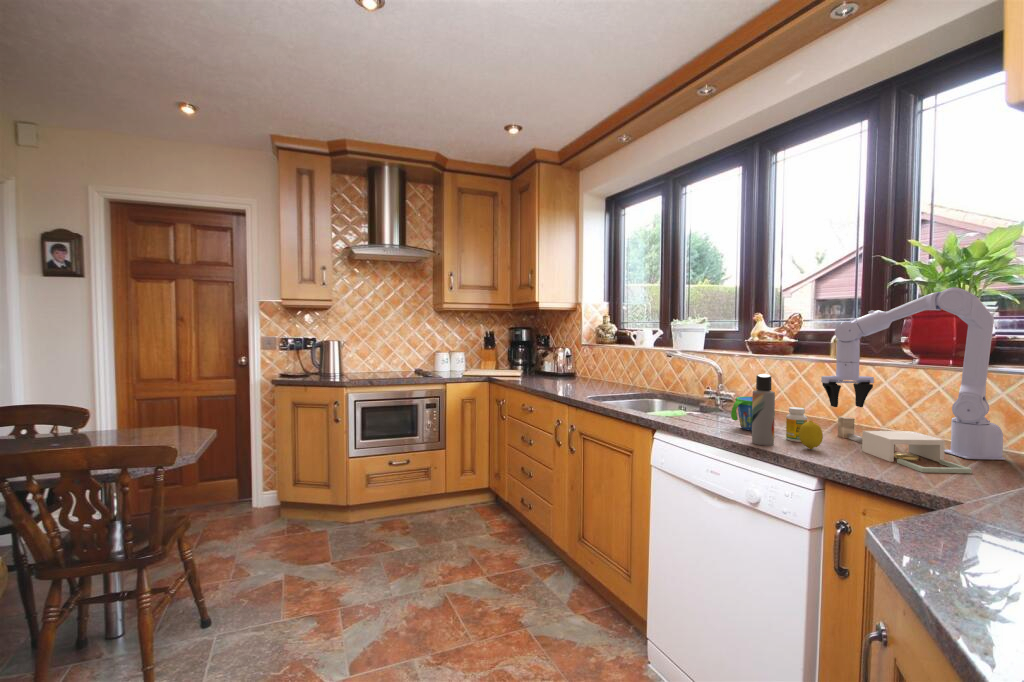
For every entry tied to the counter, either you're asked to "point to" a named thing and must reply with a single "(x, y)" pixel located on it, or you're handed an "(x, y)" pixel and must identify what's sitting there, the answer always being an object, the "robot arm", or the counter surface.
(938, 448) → the ivory tunnel cover
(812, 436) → the lemon
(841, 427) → the push slider
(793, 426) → the supplement bottle
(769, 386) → the lotion bottle
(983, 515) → the counter surface
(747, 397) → the snack cup
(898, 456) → the token
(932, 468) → the tray
